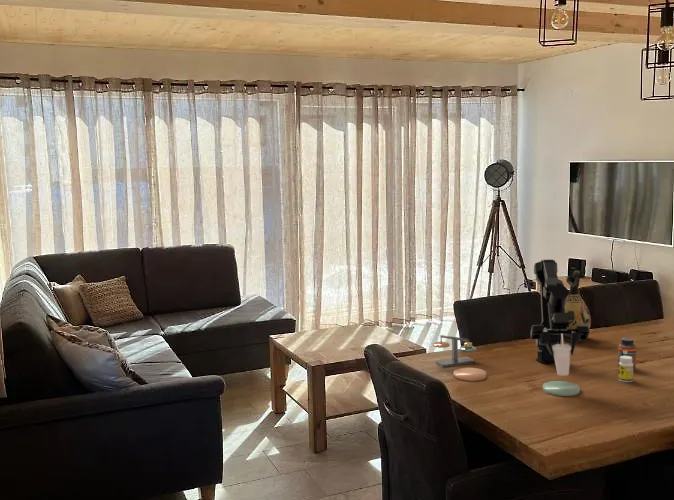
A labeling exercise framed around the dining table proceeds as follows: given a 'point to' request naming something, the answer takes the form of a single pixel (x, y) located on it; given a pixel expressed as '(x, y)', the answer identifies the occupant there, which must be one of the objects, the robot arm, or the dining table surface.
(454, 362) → the balance
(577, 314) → the ceramic jug
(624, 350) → the supplement bottle
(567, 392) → the green dish
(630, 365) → the supplement bottle
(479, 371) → the terracotta dish
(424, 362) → the dining table surface
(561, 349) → the smoothie
